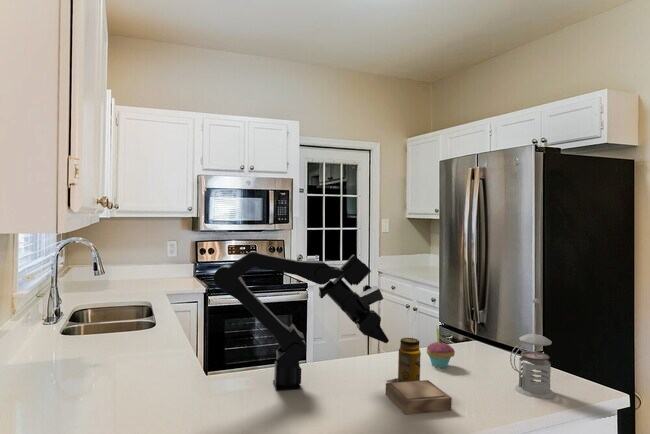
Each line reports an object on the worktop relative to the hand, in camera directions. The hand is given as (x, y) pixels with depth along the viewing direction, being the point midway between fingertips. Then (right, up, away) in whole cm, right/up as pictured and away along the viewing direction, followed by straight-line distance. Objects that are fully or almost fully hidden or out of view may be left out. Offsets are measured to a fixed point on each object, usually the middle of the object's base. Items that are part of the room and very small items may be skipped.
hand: (383, 337), depth 125 cm
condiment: (+6, -13, +1) cm, 15 cm away
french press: (+39, -14, -3) cm, 42 cm away
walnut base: (+7, -13, -13) cm, 19 cm away
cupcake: (+20, -13, +17) cm, 29 cm away
